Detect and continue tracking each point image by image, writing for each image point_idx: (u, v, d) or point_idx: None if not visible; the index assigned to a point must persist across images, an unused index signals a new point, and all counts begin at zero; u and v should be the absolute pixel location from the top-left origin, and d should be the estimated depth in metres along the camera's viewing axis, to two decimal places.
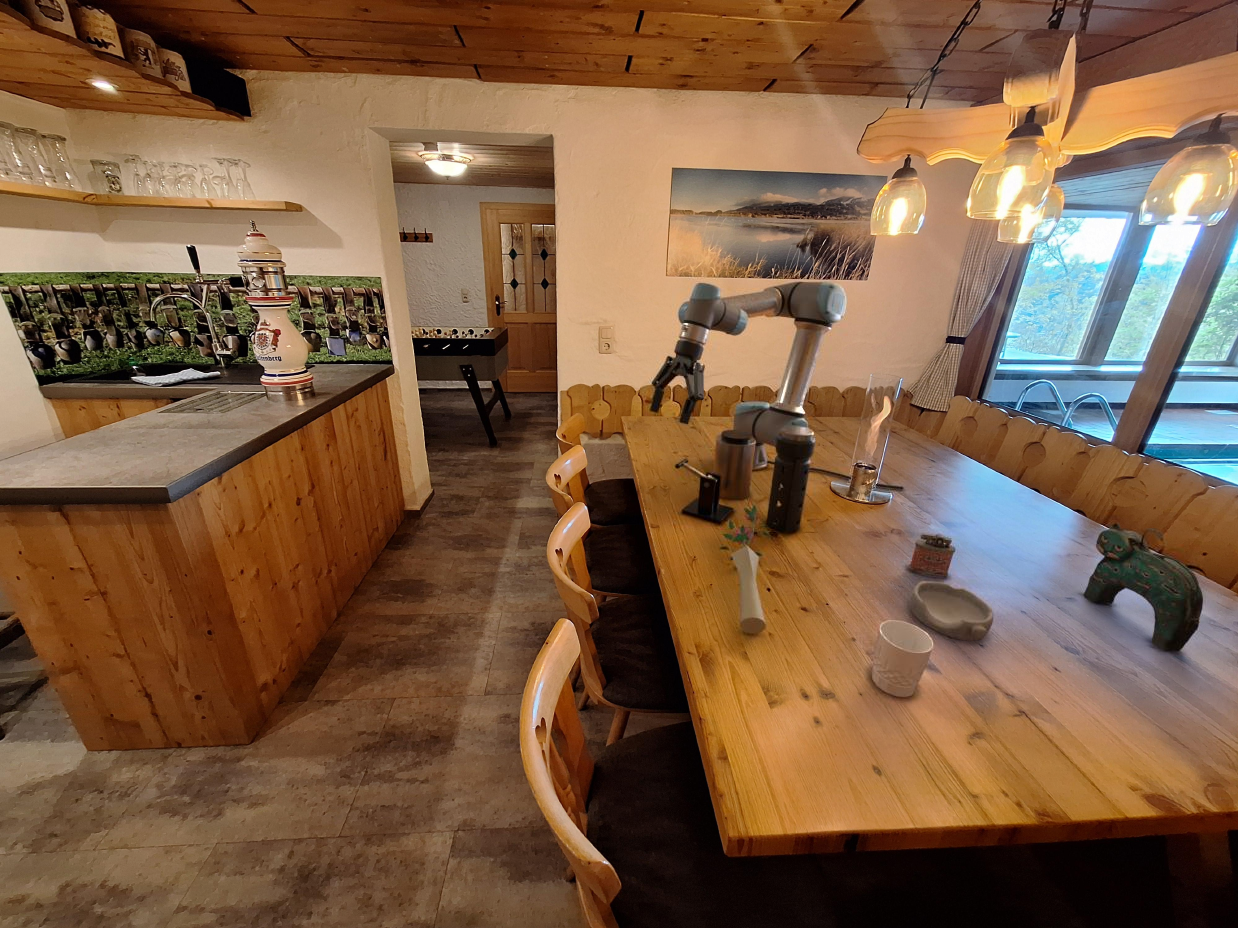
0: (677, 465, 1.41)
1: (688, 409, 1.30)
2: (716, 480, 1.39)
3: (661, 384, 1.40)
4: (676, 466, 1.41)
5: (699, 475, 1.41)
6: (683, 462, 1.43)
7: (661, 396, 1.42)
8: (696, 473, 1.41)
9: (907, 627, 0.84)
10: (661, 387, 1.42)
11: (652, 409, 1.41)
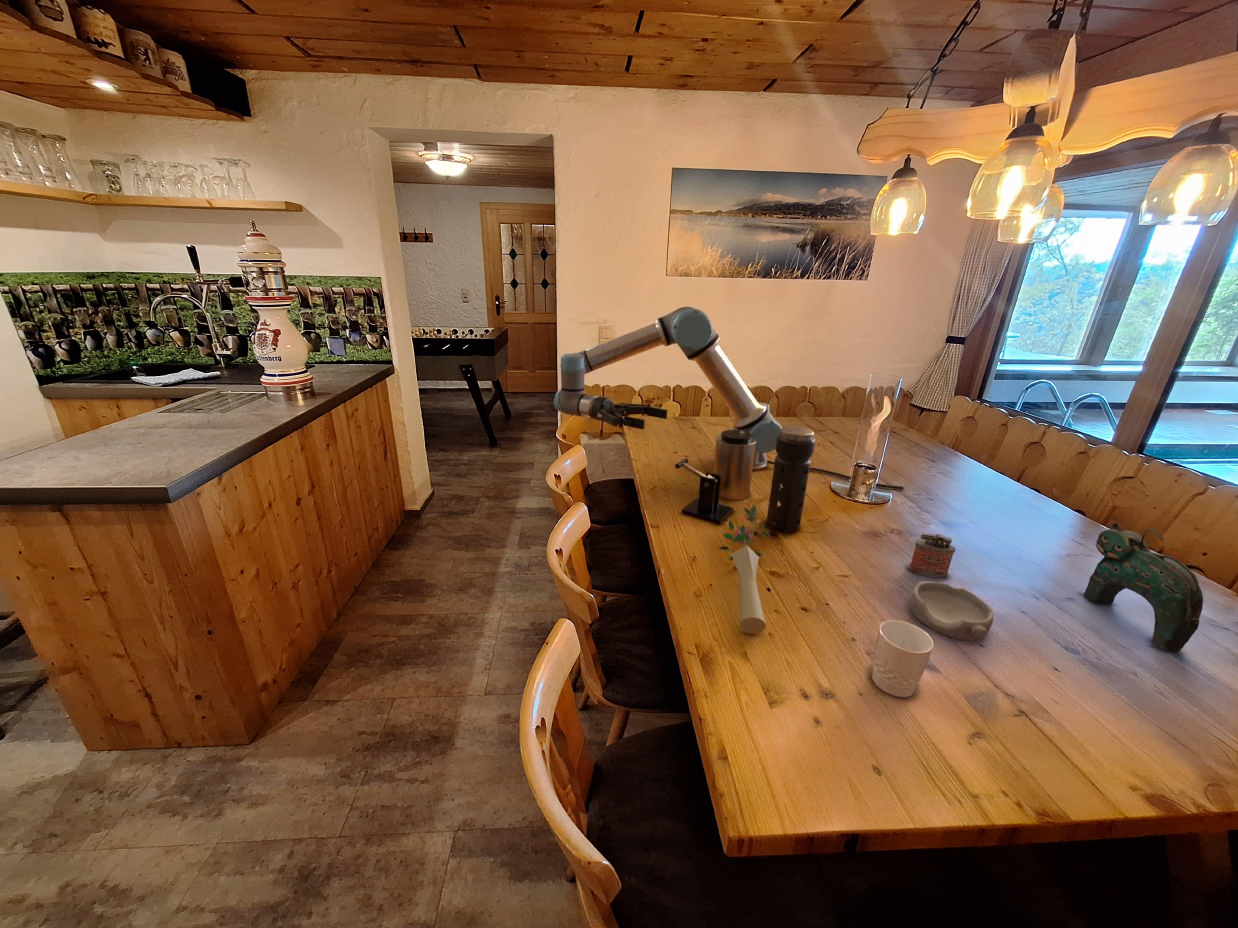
0: (677, 465, 1.41)
1: None
2: (716, 480, 1.39)
3: (642, 413, 1.53)
4: (676, 466, 1.41)
5: (699, 475, 1.41)
6: (683, 462, 1.43)
7: (652, 409, 1.51)
8: (696, 473, 1.41)
9: (907, 627, 0.84)
10: (646, 409, 1.53)
11: (663, 417, 1.50)
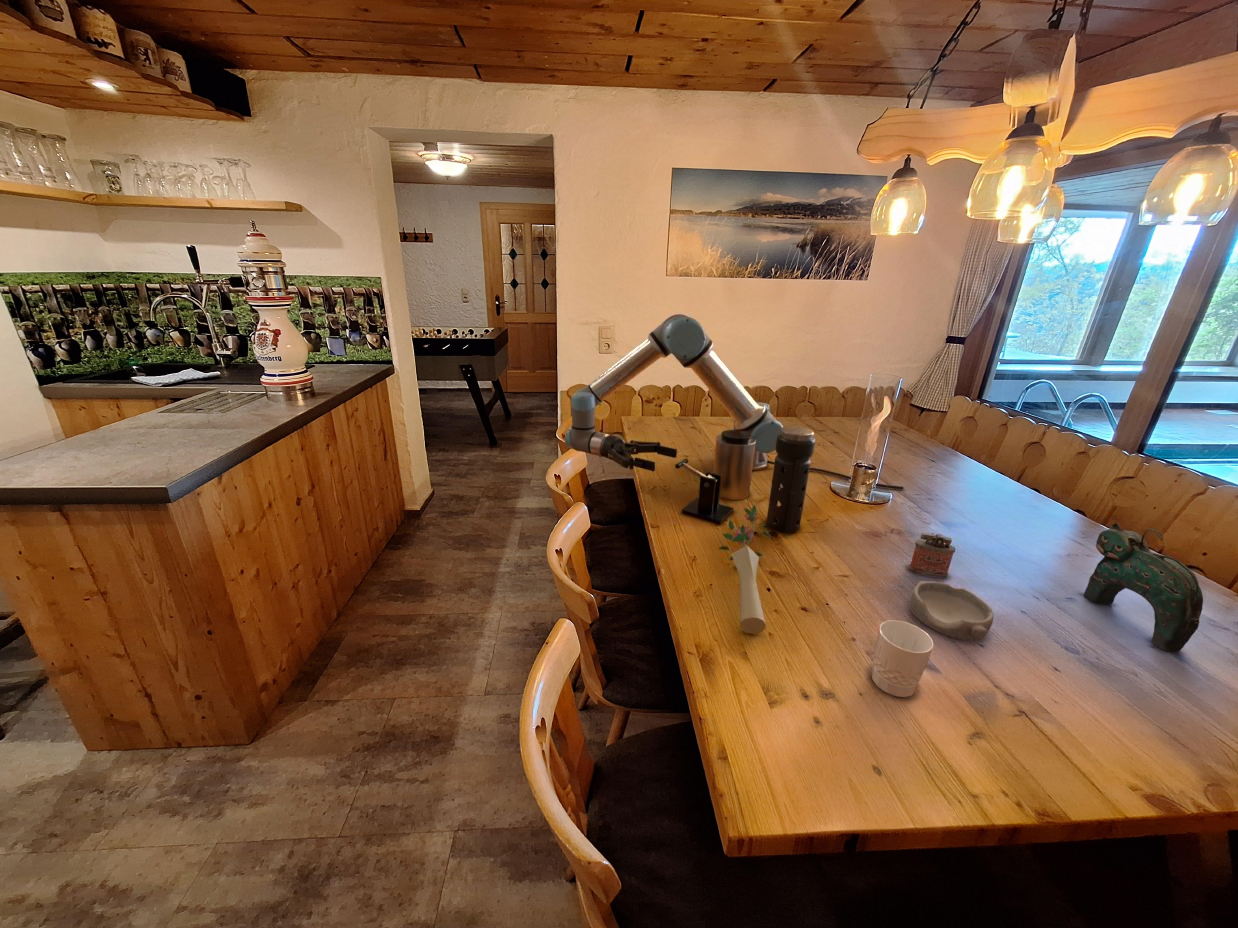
0: (677, 465, 1.41)
1: None
2: (716, 480, 1.39)
3: (652, 451, 1.55)
4: (676, 466, 1.41)
5: (699, 475, 1.41)
6: (683, 462, 1.43)
7: (661, 448, 1.53)
8: (696, 473, 1.41)
9: (907, 627, 0.84)
10: (656, 447, 1.55)
11: (673, 456, 1.52)
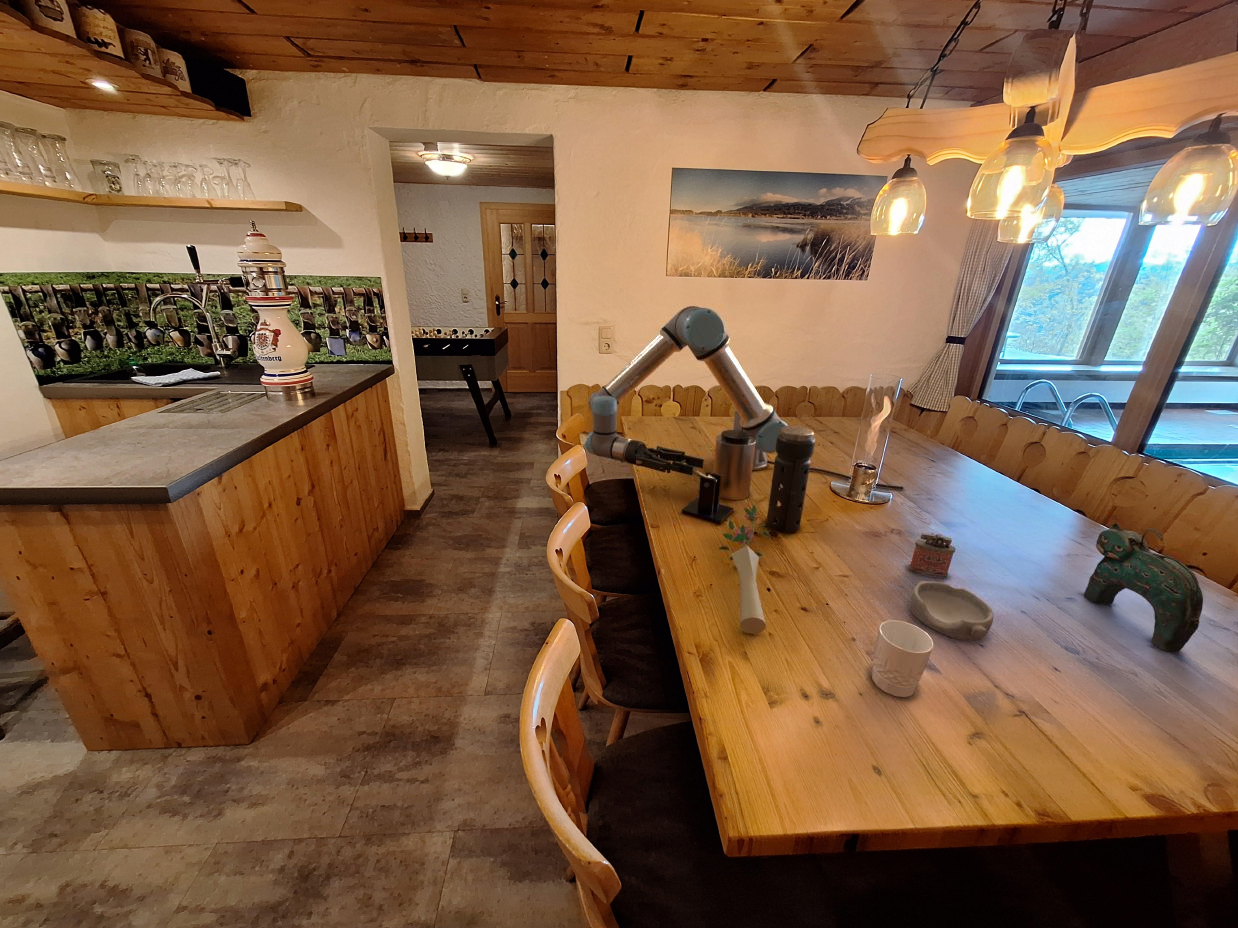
0: None
1: None
2: (716, 480, 1.39)
3: (675, 460, 1.48)
4: None
5: (699, 475, 1.41)
6: (683, 462, 1.43)
7: (687, 458, 1.45)
8: (696, 473, 1.41)
9: (907, 627, 0.84)
10: (680, 456, 1.48)
11: (700, 466, 1.44)
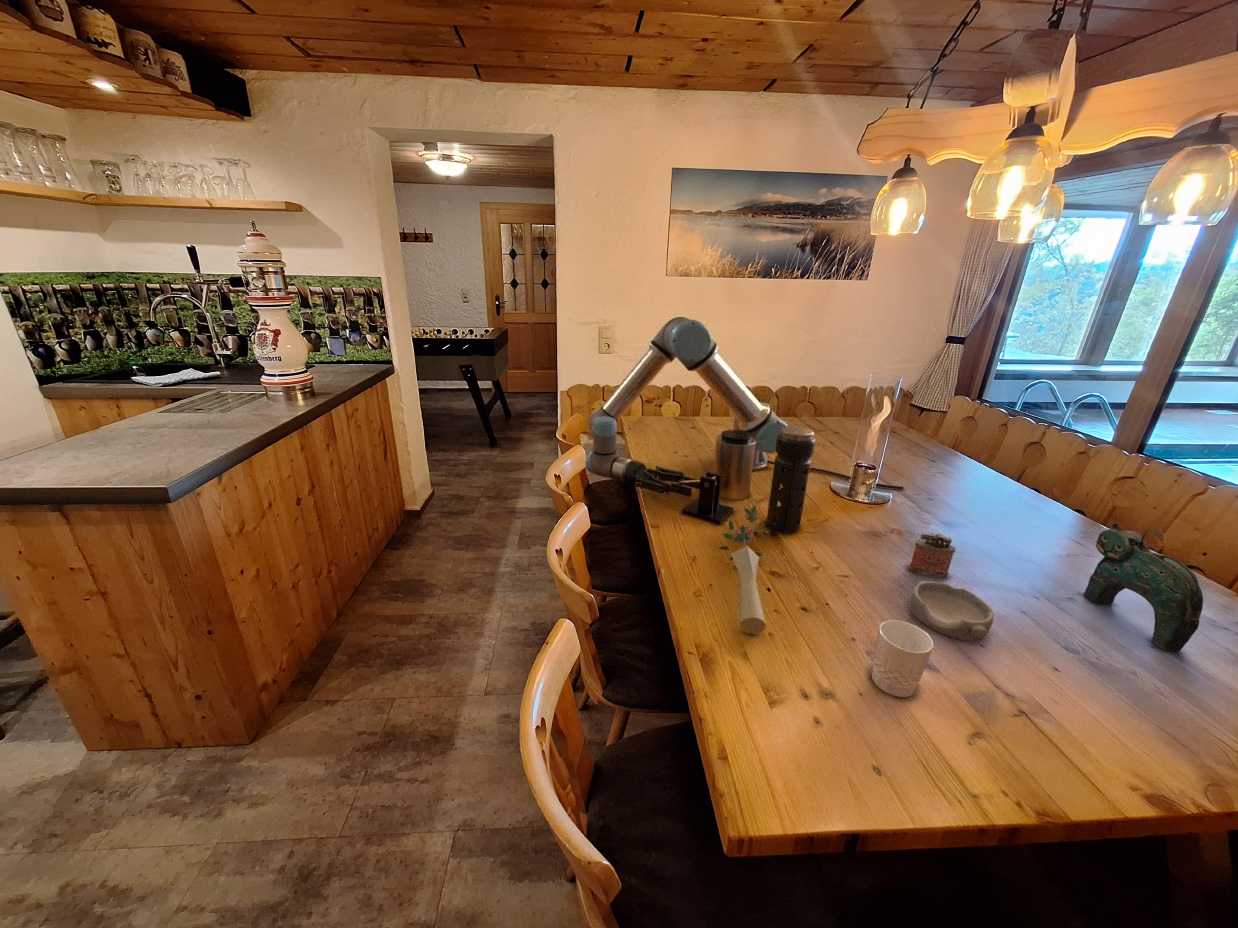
0: None
1: None
2: (714, 477, 1.39)
3: (674, 480, 1.51)
4: None
5: (698, 482, 1.42)
6: (680, 481, 1.45)
7: None
8: (695, 482, 1.42)
9: (907, 627, 0.84)
10: (679, 477, 1.50)
11: (698, 487, 1.46)
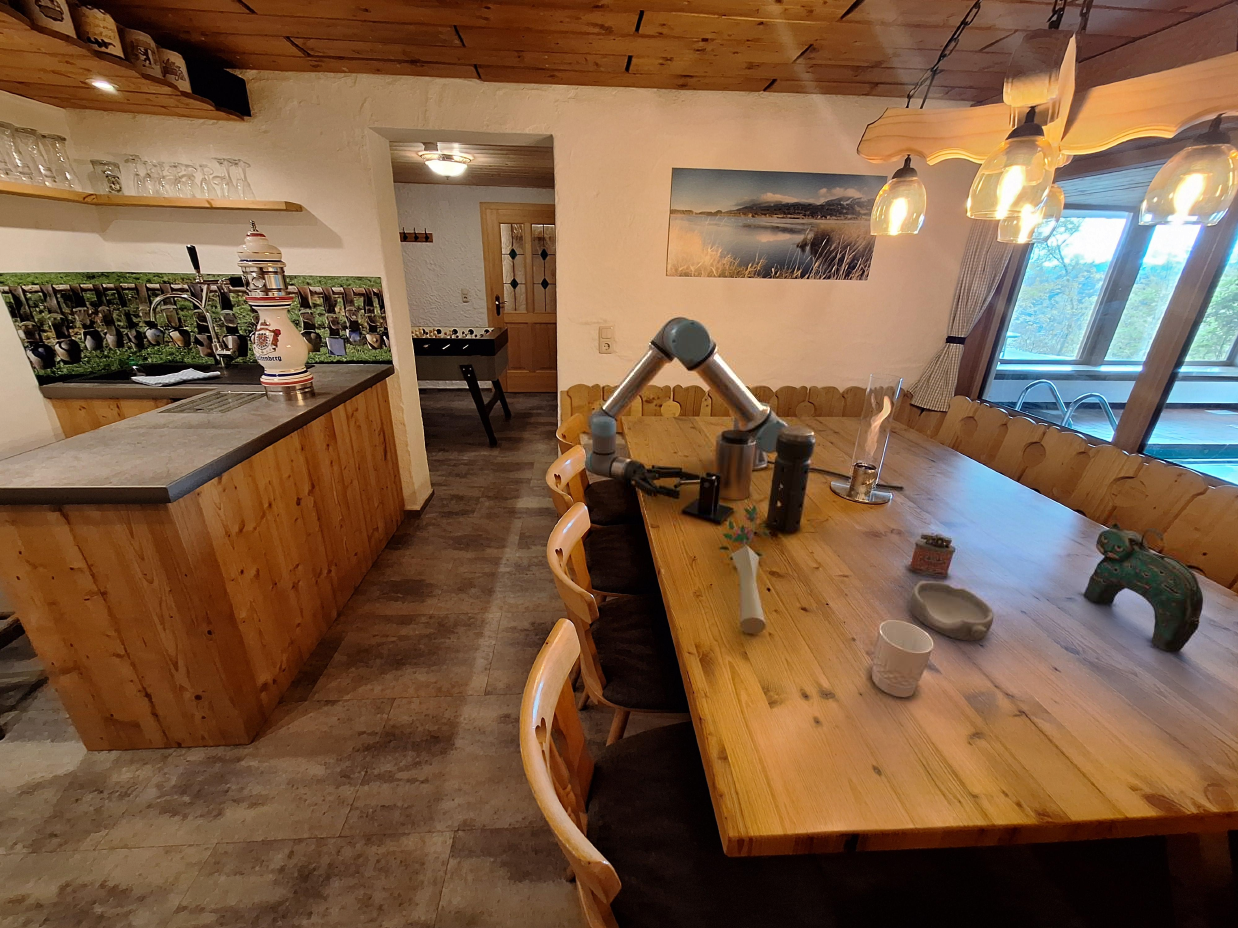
0: (675, 485, 1.43)
1: None
2: (714, 477, 1.39)
3: (674, 476, 1.54)
4: (674, 487, 1.44)
5: (698, 482, 1.42)
6: (680, 481, 1.45)
7: (684, 474, 1.52)
8: (695, 482, 1.42)
9: (907, 627, 0.84)
10: (678, 472, 1.54)
11: None
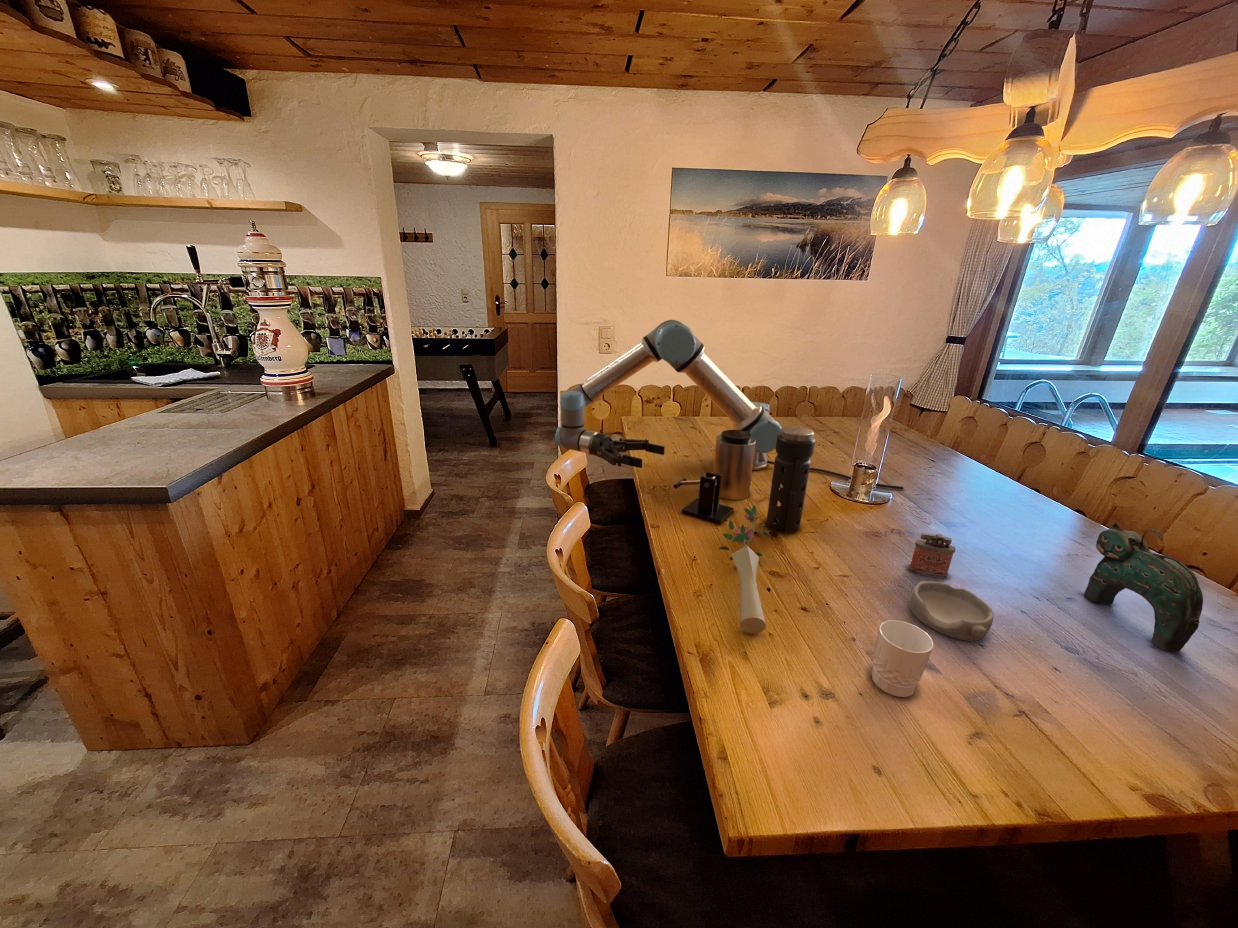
0: (675, 485, 1.43)
1: None
2: (714, 477, 1.39)
3: (640, 448, 1.58)
4: (674, 487, 1.44)
5: (698, 482, 1.42)
6: (680, 481, 1.45)
7: (649, 445, 1.56)
8: (695, 482, 1.42)
9: (907, 627, 0.84)
10: (644, 444, 1.58)
11: (661, 453, 1.54)
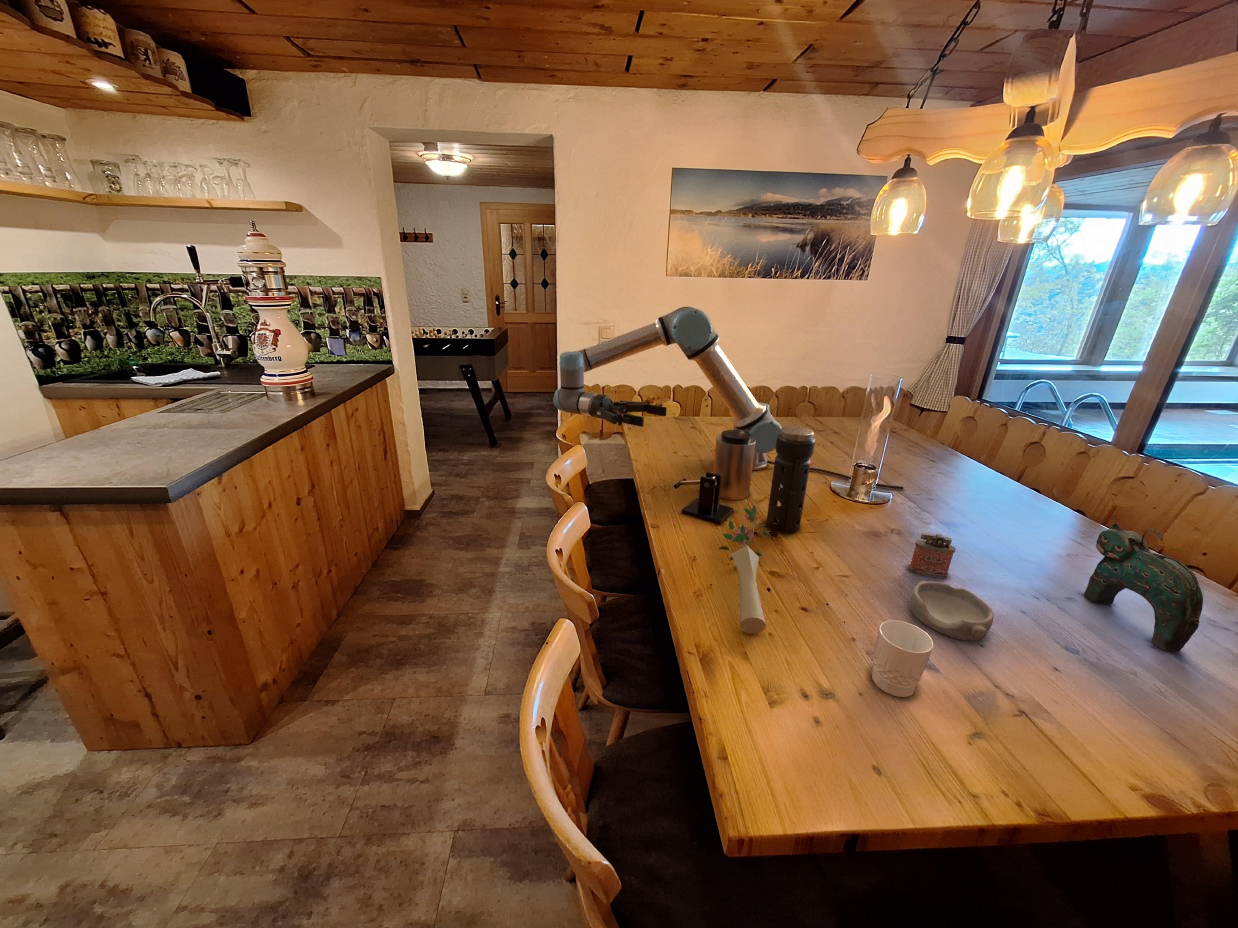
0: (675, 485, 1.43)
1: None
2: (714, 477, 1.39)
3: (641, 410, 1.53)
4: (674, 487, 1.44)
5: (698, 482, 1.42)
6: (680, 481, 1.45)
7: (651, 407, 1.51)
8: (695, 482, 1.42)
9: (907, 627, 0.84)
10: (645, 406, 1.53)
11: (663, 414, 1.50)
